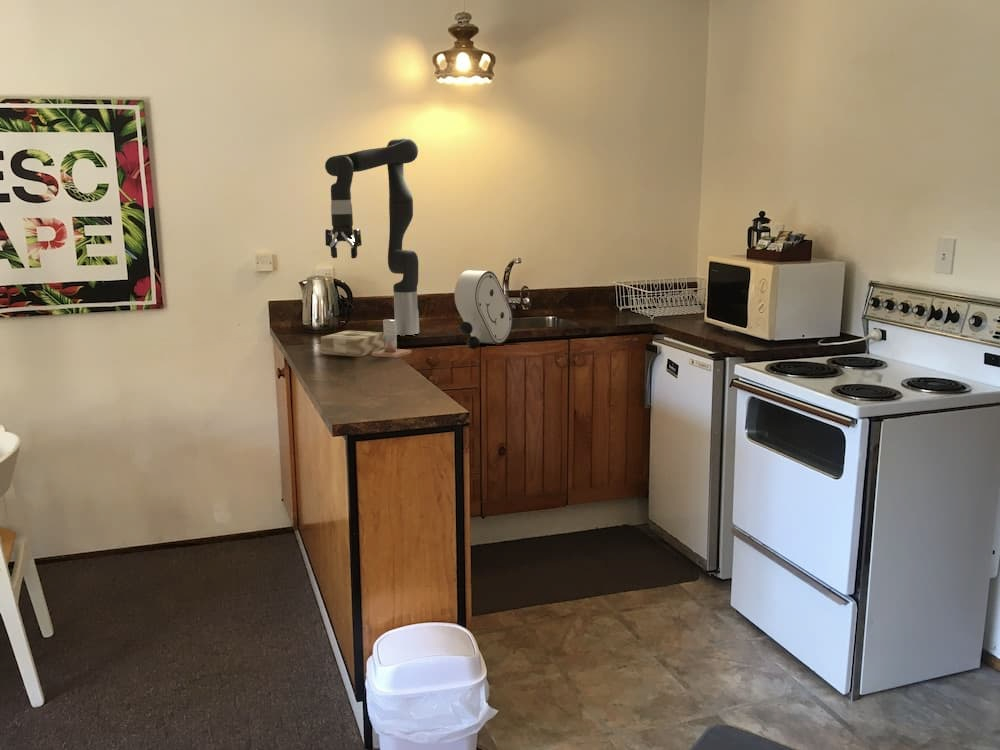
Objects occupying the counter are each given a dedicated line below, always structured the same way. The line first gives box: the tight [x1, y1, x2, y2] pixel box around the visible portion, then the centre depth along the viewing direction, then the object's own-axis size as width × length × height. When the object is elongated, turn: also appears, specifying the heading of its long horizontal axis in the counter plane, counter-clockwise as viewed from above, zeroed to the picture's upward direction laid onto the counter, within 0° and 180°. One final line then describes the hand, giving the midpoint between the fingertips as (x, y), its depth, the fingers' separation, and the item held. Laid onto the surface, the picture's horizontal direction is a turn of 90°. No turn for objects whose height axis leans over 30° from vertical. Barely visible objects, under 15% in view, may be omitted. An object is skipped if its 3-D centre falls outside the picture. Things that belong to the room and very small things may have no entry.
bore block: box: [320, 329, 384, 358], centre depth 308 cm, size 16×16×6 cm
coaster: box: [370, 348, 412, 359], centre depth 302 cm, size 10×10×1 cm
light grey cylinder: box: [382, 318, 398, 353], centre depth 300 cm, size 4×4×11 cm
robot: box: [454, 269, 513, 350], centre depth 312 cm, size 30×9×24 cm
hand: (344, 258), depth 316 cm, fingers open, 8 cm apart
